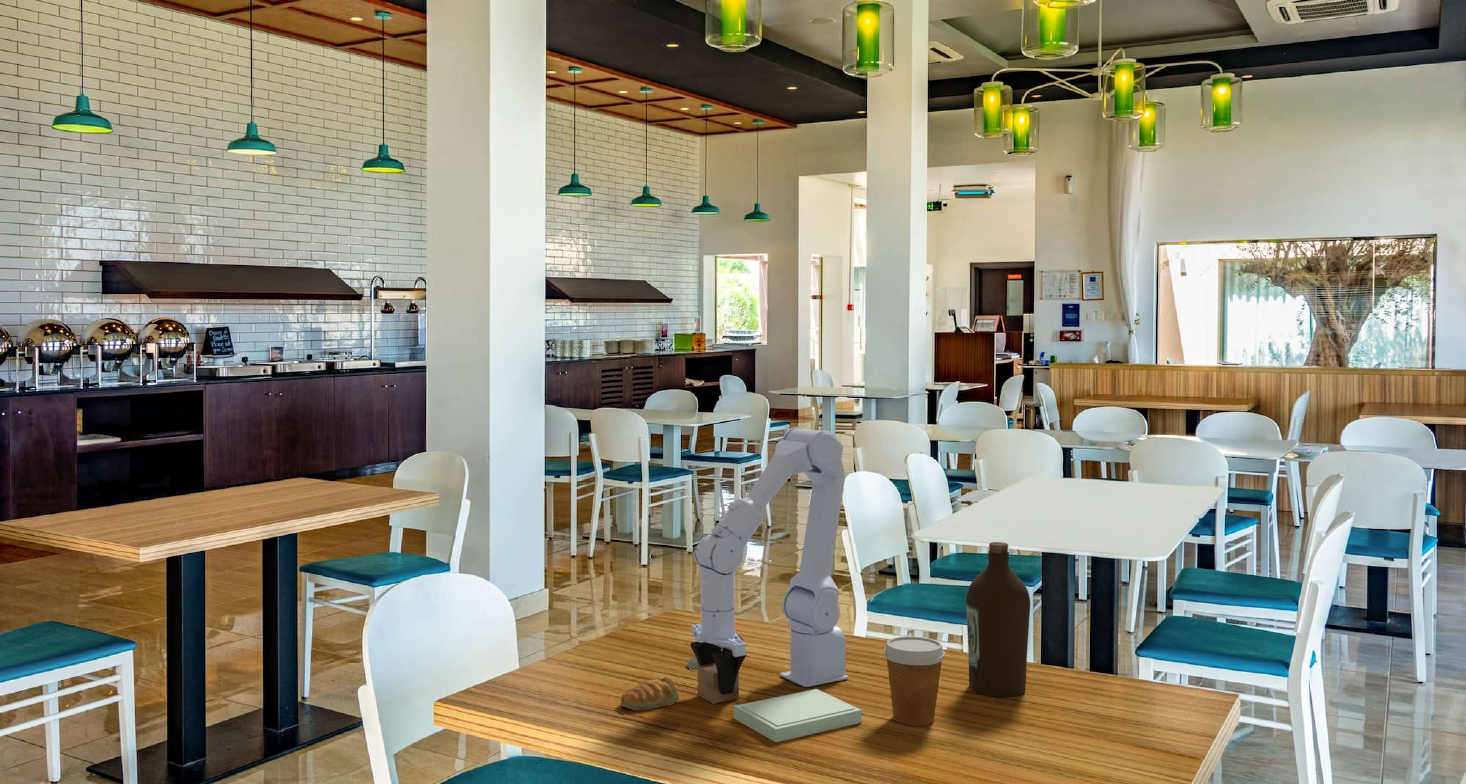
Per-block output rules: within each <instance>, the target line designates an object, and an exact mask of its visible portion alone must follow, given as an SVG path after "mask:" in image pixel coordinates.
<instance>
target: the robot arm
mask: <svg viewBox="0 0 1466 784" xmlns="http://www.w3.org/2000/svg"><path fill="white" fill-rule="evenodd" d="M774 450H775V451H774V454H773V456H772V457H771V459H770V460H769V462H768V464H767V465H766V467H765V468H764V470H763V471H762V473H761V474H760V476H759V478H758V479H757V481H756V482H755V484H754V485H753V487H752V489H751V490H750V491H749V493H748V494H747V496H746V497H742V498H737V499H736V500H735V501H734V502H730V503H729V504H728V505H727V507H726V508H727V509H728V511H726V513H725V514H724V516H723V517H722V518H721V520H720V521H719V522H718V524H717V525H716V526H714V527H713V528H712V530H711V534H708V535H704V536H703V537H702V538H701V539H700V540H699V541H698V543H697V546H696V550H695V551H693V552H692V553H693V559H694V561H695V563H696V565H698V567H699V575H700V623H697V624H691V637H693V638H694V640H695V641H693V642H691V643H690V648H691V650H692V652H693V654H694V656H696V658H697V661H698V664H699V666H700V665H705V664H711V663H715V665H716V668H717V673H718V682H719V689H720V693H721V694H722V695H724V694H729V693H733V690H734V686H735V682H736V678H737V674H738V671H739V672H740V668H741V666H742V664H743V662H745V661H744V660H745V659H746V657H747V643H745V642H744V641H741V639H740V638H739V637H738V635H739V634H737V633H736V608H735V607H736V589H735V588H736V569H738V567H739V566H741V565H742V561H743V552H744V550H745V549H746V548H745V546H746V545H747V544H748V542H749V541H750V539H751V538H752V537H753V535H754V534H755V532H757V530H758V528H759V527H760V525H761V524H762V523H763V521H764V519H765V518H764V508H766V507H767V505H768V504H769V503H770V501H771V500H772V499H773V498H774V497H775V495H776V494H778V492H779V490H780V489H781V488H782V487H783V486H784V485H785V484H786V482H787V481H788V480H789V479H790V478H791V476H793V475H797V474H801V473H804V474H805V475H806V476H807V478H808V479H809V480H810V482H811V483H812V487H811V492H810V498H809V499H810V500H809V505H808V512H807V513H808V514H807V521H806V526H805V527H806V528H805V534H804V541H803V548H802V554H801V561H800V566H799V571H798V572H797V573H796V574H795V575H794V576H792V577H791V578H790V580H789V585H788V589H787V591H786V592H785V594H784V596H783V599H782V604H781V605H782V606H781V607H782V612H783V614H784V616H785V617H786V618H787V619H788V626H789V627H790V628H789V629H790V634H789V635H790V639H789V640H790V641H789V642H790V643H789V644H790V647H789V648H790V649H789V650H790V651H789V652H790V653H789V654H790V655H789V656H790V659H789V660H790V661H789V662H790V663H789V664H790V665H789V668H790V669H789V671H783V672H780V673H779V675H780V677H782V678H785V679H786V680H789V681H791V682H793V683H795V684H797V685H799V686H800V687H804V688H809V687H814V686H818V685H825V684H829V683H835V682H838V681H843V680H848V679H849V675H847V672H846V671H847V668H846V667H847V664H846V663H847V661H846V658H847V655H846V653H847V652H846V651H847V648H846V647H847V646H846V645H847V644H846V643H847V642H846V637H845V635H844V632H843V631H842V629H841V628H840V627H839V626H837V624H838V622H839V620H840V616H841V608H840V607H841V606H840V603H839V593H840V590H839V589H838V588H839V587H838V586H837V585H836V583H835V582H834V579H833V578H832V569H833V563H834V562H833V561H834V555H835V548H836V541H837V536H838V535H837V534H838V528H839V522H840V513H841V507H842V501H843V495H844V494H843V493H844V488H845V487H844V486H845V481H846V480H845V479H846V475H845V468H844V464H843V460H842V457H843V452H844V445H843V444H842V442H841V441H840V439H838V437H837V436H836V435H835V434H834V433H833V432H831V431H829V430H819V429H818V430H817V429H816V430H815V429H807V428H802V427H798V426H796V427H791V428H789V429H788V430H787V431H786V432H785V433H784V434H783V436H782V439H780V440H779V441H778V442H777V443H776V445H775V449H774ZM721 649H722V650H721Z"/></svg>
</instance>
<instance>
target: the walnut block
mask: <svg viewBox="0 0 1466 784" xmlns="http://www.w3.org/2000/svg"><path fill="white" fill-rule="evenodd" d="M739 672H740V670H739V671H738V674H737V678H736V682H735V686H734V690H733V693H729V694H724V695H722V694H721V693H720V689H719V682H718V673H717V668H716V665H715V663H711V664H705V665H700V666H698V672H697V696H698V695H700V696H701V697H700V696H699V697H700V698H702V699H703V698H704V699H703V700H705V699H706V700H705V701H707V702H709V701H710V702H711V704H712V703H715V704H719V702H720V703H723V701H724V702H728V701H733V700H734V701H735V700H739V699H740V690H739V689H740V685H739V684H740V683H739V681H740V678H739V676H740V675H739V674H740V673H739ZM710 702H709V703H710Z"/></svg>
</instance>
